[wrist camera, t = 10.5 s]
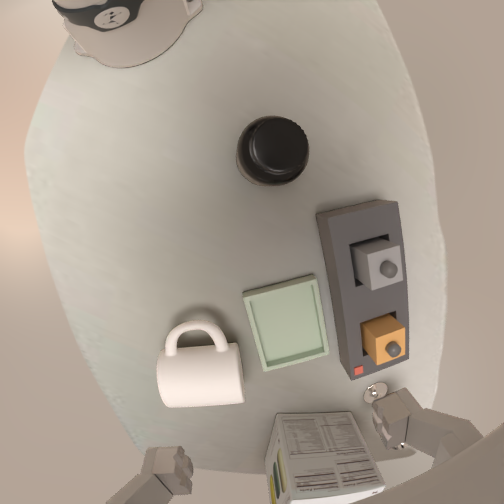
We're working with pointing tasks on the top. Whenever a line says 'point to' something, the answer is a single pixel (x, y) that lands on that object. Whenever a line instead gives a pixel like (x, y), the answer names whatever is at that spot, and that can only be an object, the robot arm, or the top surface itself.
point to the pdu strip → (352, 290)
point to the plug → (383, 338)
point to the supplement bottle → (272, 151)
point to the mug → (200, 370)
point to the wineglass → (375, 393)
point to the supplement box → (319, 460)
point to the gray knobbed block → (376, 262)
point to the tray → (287, 322)
